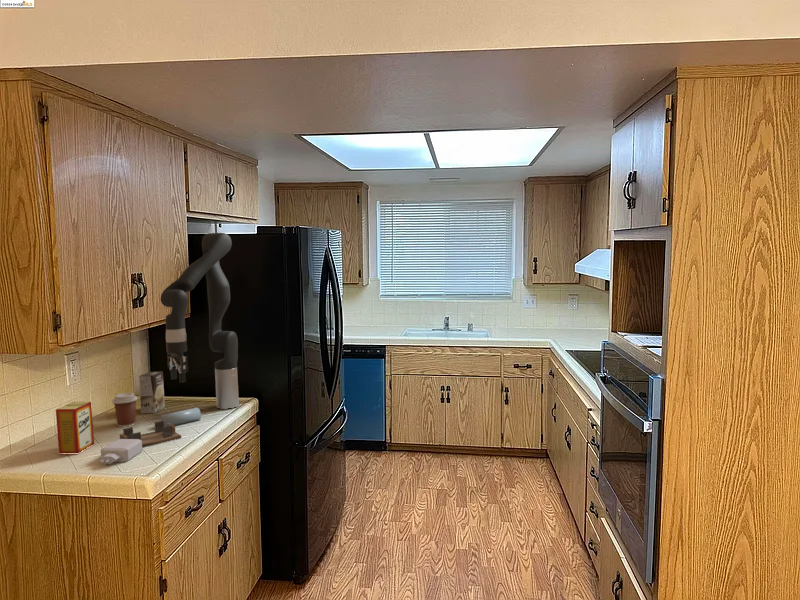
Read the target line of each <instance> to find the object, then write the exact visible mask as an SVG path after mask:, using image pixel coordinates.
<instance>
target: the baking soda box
mask: <svg viewBox="0 0 800 600" xmlns="http://www.w3.org/2000/svg"><path fill="white" fill-rule="evenodd" d="M55 418H56V419H55V420H56V429H57V430H56V431H57V444H58V445H57V446H58V454H59V453H79V452H81V451H82V450H84V449H86V448H87V447H89V446H91V445H93V444H94V445H95V441H94V440H95V439H94V437H95V436H94V424H93V410H92V402H91V401H71V402H69V403H67V404H64V405H63V406H60V407H58V408H56V409H55ZM94 445H93V446H94ZM91 447H92V446H91ZM86 450H87V449H86ZM81 453H82V452H81ZM79 454H80V453H79Z"/></svg>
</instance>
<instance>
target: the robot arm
mask: <svg viewBox="0 0 800 600" xmlns="http://www.w3.org/2000/svg"><path fill="white" fill-rule="evenodd" d="M232 246H233V243H232V238H231V236H230V235H229V234H227V233H225V232H208V233H205V234H204V235H203V237H202V240H201V250H202V256H201V257H199V258H198V259H196V260H195V261H194V262H192V263H191V264H190V265H188V266H187V267H186V269H184V271H183V272H182V273H181V274H180V275H179V277H177V279H175V280H174V281H173V282H172V283H171V284H170V285H168V286H167V287H166V288H165V289H164V290H163V291H162V293H161V295H160V302H161V303H160V304H161V305H163V306H164V307H167V308H171V313H168V314H167V315H166V316H165V346H166V349H165V350H166V354H167V355H166V356H167V368H168V369H169V371H170V380H172V381H173V380H177V379H178V378H179V379H178V380H179V383H181V384H182V383H186V382H187V378H186V377H187V376H186V373H187V372H189V364H188V356H187V355H185V356H184V353H186V352H187V351H188V345H187V344H188V342H187V340H188V339H187V332H186V320H185V319H186V313H187V310H188V304H189V299H188V298H189V296H188V295H187V293H188V292H192V291H193V290H194V289H195V287H196V286H197V285H198V284H199V282H200V281H201V280H202V278H203V277H204V276H206V288H207V289H206V290H207V291H206V292H207V303H208V314H209V315H208V316H209V318H208V319H209V325H208V326H209V327H208V328H209V329H208V342H209V343H208V344H209V347H210V350H211V351H212V352H213V353H224V357H223V358H221V359H219V360H217V361H215V362H214V376H215V377H214V379H215V400H216V408H217V409H218V408H220V409H219V410H229V409H228V408H232V409H234V407H236V408H238V407H239V406H240V405H239V404H240V403H239V402H240V400H239V381H238V360H239V359H238V358H239V354H238V353H239V351H238V350H239V341H238V336H237V335H238V334H237V333H236V332H235V331H232V330H222V320H223V317H224V315H225V313H226V311H227V309H228V307H229V305H230V304H231V303H230V302H231V289H230V288H231V287H230V283H229V280H228V279H227V277H226V275H225V273H224V271H223V269H222V268H221V267H222V266H221V265H220V264H221V263H220V260H221V259H222V258H224V257H225V256H226V255H227V253H229V252H230V251H231V248H232ZM178 373H179V377H178ZM237 406H238V407H237ZM226 408H227V409H226Z"/></svg>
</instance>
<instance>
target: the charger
mask: <svg viewBox="0 0 800 600" xmlns="http://www.w3.org/2000/svg"><path fill="white" fill-rule="evenodd" d="M142 452H143V448H142V441H141V440H139V439H120V438H118V439H116V441H115V440H114V441H113V442H111V443H110V444H107V445H105V446H104V447H103V448H101V449H100V457H99V459H98V461H99V462H100V463H103V464H112V463H124V462H125V463H126V461H127V462H128V461H130V460H132V459H133V458H135V457H136V456H138V455H139V454H140V453H142Z"/></svg>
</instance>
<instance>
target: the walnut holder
mask: <svg viewBox="0 0 800 600" xmlns="http://www.w3.org/2000/svg"><path fill="white" fill-rule="evenodd" d="M122 431H123V432H122V433H119V439H139V440H141V441H142V447H143V448H146V446H147V447H151V446H155V445H159V444H162V443H166V442H167V441H168V442H171V440H172V441H175V439H176V440H179V438H180V439H182V435H181V434H179V433H178V432H176V425H173V424H171V423H167V426H164V421H163V420H162V421H161V420H159V421H155V422H154V431H151V432H146V433H143V434H142V433H141V431H138V432H134V427H133V426H129V427H124V428H123V429H122ZM116 440H117V439H116ZM116 440H114V441H116Z"/></svg>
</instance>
